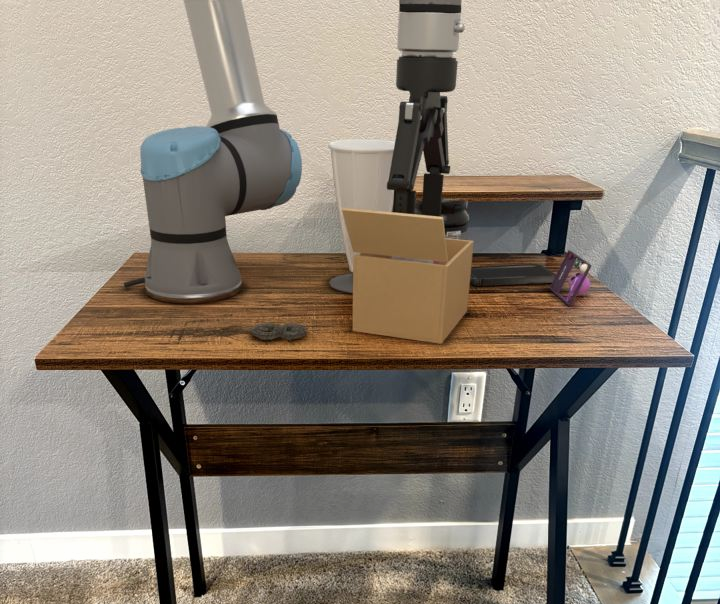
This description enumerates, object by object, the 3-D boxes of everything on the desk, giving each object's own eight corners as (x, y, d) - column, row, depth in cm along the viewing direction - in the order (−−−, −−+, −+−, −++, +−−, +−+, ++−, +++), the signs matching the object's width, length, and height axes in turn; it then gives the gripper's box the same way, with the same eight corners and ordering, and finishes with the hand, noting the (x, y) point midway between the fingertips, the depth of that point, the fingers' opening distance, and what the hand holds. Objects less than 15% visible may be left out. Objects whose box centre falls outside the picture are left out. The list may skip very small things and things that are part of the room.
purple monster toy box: (564, 248, 118) (585, 263, 111) (591, 258, 120) (614, 274, 112) (545, 287, 121) (564, 304, 114) (572, 296, 123) (592, 314, 115)
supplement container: (420, 254, 140) (423, 187, 134) (472, 261, 136) (479, 193, 130) (398, 267, 132) (401, 197, 125) (453, 275, 128) (459, 203, 122)
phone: (460, 267, 128) (540, 263, 131) (459, 273, 128) (539, 269, 131) (474, 279, 121) (558, 275, 124) (474, 286, 122) (557, 282, 125)
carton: (441, 344, 99) (447, 266, 94) (352, 331, 103) (353, 255, 98) (467, 311, 111) (473, 240, 106) (386, 300, 115) (388, 232, 110)
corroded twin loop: (306, 342, 98) (306, 335, 98) (247, 341, 98) (247, 334, 98) (309, 329, 103) (309, 322, 102) (252, 328, 103) (252, 321, 102)
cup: (343, 271, 129) (343, 137, 118) (405, 278, 126) (412, 141, 114) (318, 289, 119) (316, 145, 108) (385, 297, 116) (390, 150, 105)
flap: (447, 260, 93) (447, 262, 93) (354, 249, 97) (353, 252, 97) (443, 216, 87) (442, 219, 87) (342, 207, 91) (341, 209, 91)
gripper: (429, 57, 79) (417, 256, 90) (479, 54, 99) (464, 216, 110) (364, 55, 81) (360, 249, 92) (426, 52, 101) (417, 212, 112)
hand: (417, 232), depth 101 cm, fingers open, 13 cm apart
